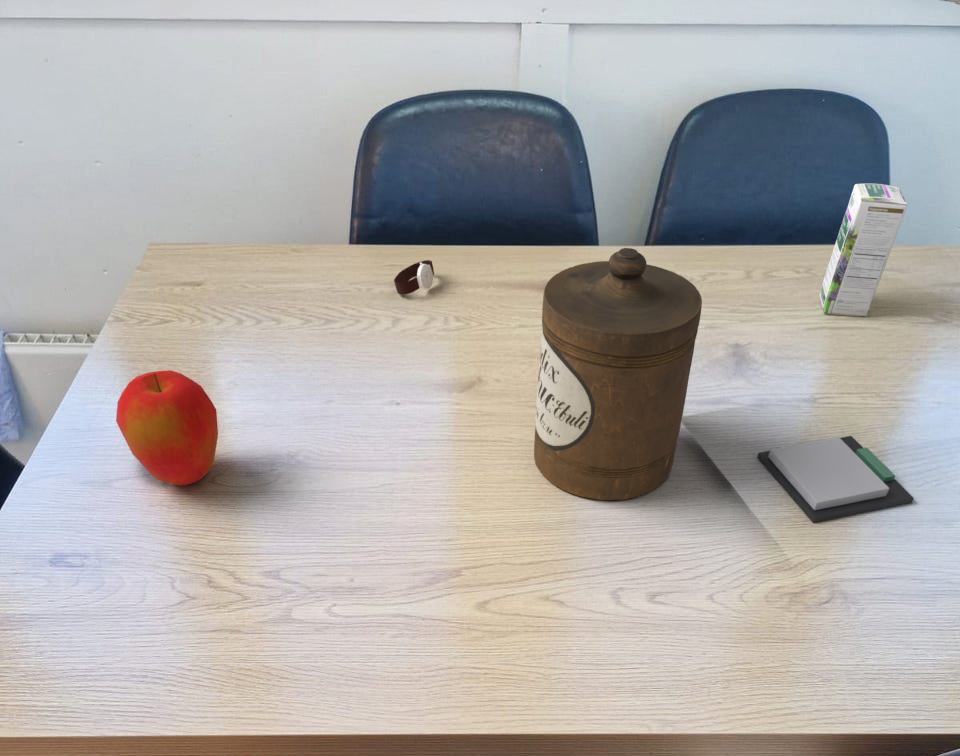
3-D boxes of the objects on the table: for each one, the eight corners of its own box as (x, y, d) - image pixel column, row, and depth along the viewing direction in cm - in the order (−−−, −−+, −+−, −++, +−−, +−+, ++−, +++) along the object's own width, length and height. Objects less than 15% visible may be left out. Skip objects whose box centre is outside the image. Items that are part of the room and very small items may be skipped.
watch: (416, 302, 116) (415, 276, 113) (386, 295, 117) (384, 268, 114) (442, 279, 120) (442, 252, 118) (413, 272, 122) (411, 246, 119)
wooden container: (524, 422, 97) (535, 220, 80) (654, 416, 98) (690, 215, 81) (543, 505, 87) (559, 294, 71) (687, 498, 88) (736, 288, 72)
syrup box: (817, 294, 118) (852, 181, 107) (862, 297, 117) (901, 184, 107) (822, 314, 114) (859, 199, 103) (868, 317, 114) (910, 202, 103)
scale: (844, 454, 93) (854, 427, 91) (905, 517, 86) (918, 489, 83) (752, 471, 91) (760, 444, 88) (808, 537, 84) (818, 510, 81)
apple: (121, 491, 88) (81, 387, 79) (173, 443, 94) (142, 341, 85) (198, 513, 86) (167, 408, 77) (247, 463, 91) (223, 359, 82)
